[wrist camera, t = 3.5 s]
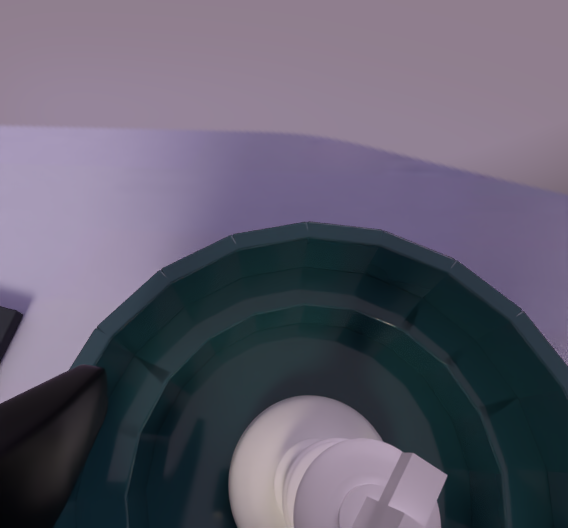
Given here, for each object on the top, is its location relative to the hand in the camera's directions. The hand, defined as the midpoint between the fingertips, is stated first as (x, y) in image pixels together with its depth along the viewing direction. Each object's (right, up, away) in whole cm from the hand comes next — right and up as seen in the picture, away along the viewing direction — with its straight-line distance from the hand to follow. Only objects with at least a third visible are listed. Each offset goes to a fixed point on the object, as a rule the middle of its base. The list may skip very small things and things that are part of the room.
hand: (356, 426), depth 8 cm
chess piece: (0, -4, +6) cm, 7 cm away
